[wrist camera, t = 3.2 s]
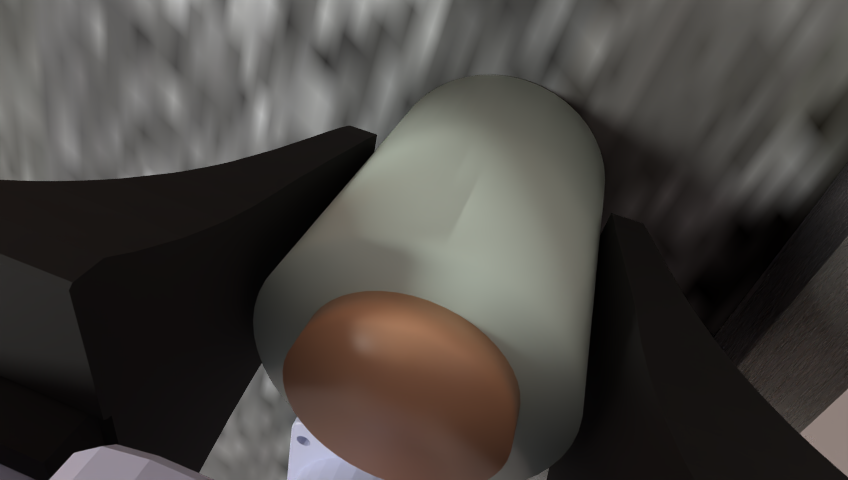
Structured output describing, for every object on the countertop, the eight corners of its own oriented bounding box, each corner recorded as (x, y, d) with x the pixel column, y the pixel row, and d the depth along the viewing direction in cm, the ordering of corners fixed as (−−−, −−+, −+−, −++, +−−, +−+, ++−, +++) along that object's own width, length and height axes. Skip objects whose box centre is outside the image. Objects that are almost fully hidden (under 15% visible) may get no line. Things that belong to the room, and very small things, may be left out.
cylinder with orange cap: (559, 293, 14) (512, 563, 9) (377, 229, 14) (232, 444, 9) (644, 117, 11) (650, 365, 6) (411, 45, 11) (226, 210, 6)
